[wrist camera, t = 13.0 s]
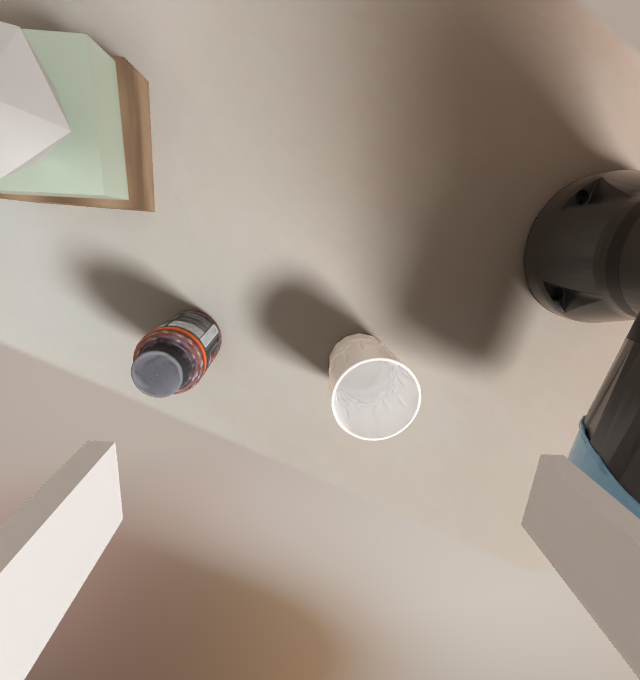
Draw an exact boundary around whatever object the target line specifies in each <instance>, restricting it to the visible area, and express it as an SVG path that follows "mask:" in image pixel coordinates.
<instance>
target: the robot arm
mask: <svg viewBox="0 0 640 680" xmlns="http://www.w3.org/2000/svg"><path fill="white" fill-rule="evenodd" d="M524 267H525V274H526V279H527V282H528V285H529V288H530V290H531V292H532V293H533V295H534V297H535V298H536V299H537V300H538V302H539V303H540V304H541V305H542V306H544V307H545V308H546V309H547V310H549V311H551V312H552V313H554V314H557V315H559V316H562V317H565V318H569V319H572V320H575V321H580V322H588V323H599V322H612V321H624V320H635V321H634V323H633V325H632V327H631V329H630V331H629V333H628V335H627V337H626V339H625V341H624V343H623V345H622V347H621V349H620V351H619V353H618V355H617V356H616V358H615V360H614V362H613V364H612V366H611V368H610V370H609V372H608V374H607V376H606V378H605V380H604V382H603V384H602V386H601V388H600V390H599V392H598V394H597V396H596V398H595V400H594V401H593V403H592V405H591V407H590V409H589V411H588V413H587V415H586V416H583V417H582V419H581V420H580V423H579V429H580V430H579V432H578V434H577V437H576V439H575V441H574V444H573V446H572V448H571V451H570V453H569V457H568V459H567V458H566V457H565V456H564V455H540V459H539V463H538V466H537V470H536V473H535V477H534V481H533V484H532V488H531V491H530V495H529V498H528V502H527V506H526V509H525V513H524V516H523V520H522V524H521V525H522V526H523V528H524V529H525V530H526V532H527V533H528V534H529V535H530V537H531V538H532V539H533V541H534V542H535V543H536V545H537V546H538V547H539V549H540V550H541V551H542V552H543V554H544V555H545V556H546V558H547V559H548V560H549V562H550V563H551V564H552V566H553V567H554V568H555V569H556V571H557V572H558V573H559V575H560V576H561V577H562V578H563V580H564V581H565V583H566V584H567V585H568V586H569V588H570V589H571V590H572V592H573V593H574V594H575V595H576V597H577V598H578V600H579V601H580V602H581V603H582V605H583V606H584V607H585V609H586V610H587V611H588V613H589V614H590V615H591V616H592V618H593V619H594V620H595V622H596V623H597V624H598V626H599V627H600V628H601V629H602V631H603V632H604V633H605V635H606V636H607V637H608V639H609V640H610V641H611V643H612V644H613V645H614V647H615V648H616V649H617V651H618V652H619V653H620V654H621V656H622V657H623V658H624V660H625V661H626V662H627V664H628V665H629V666H630V668H631V669H632V670H633V671H634V673H635V674H636V675H637V677H638V678H639V679H640V171H637V170H615V171H609V172H604V173H599V174H594V175H590V176H587V177H584V178H582V179H579V180H577V181H575V182H573V183H571V184H570V185H568V186H567V187H565V188H564V189H562V190H561V191H560V192H559V193H557V194H556V195H555V196H554V197H553V198H552V199H551V200H550V201H549V202H548V203H547V205H546V206H545V207H544V208H543V210H542V211H541V212H540V214H539V216H538V217H537V219H536V221H535V222H534V224H533V227H532V229H531V231H530V234H529V237H528V240H527V244H526V249H525V257H524ZM122 519H123V515H122V504H121V494H120V484H119V474H118V464H117V454H116V444H115V442H104V441H87V442H86V444H85V445H84V446H83V447H81V448H80V449H79V450H78V451H77V453H75V454H74V455H73V456H72V457H71V458H70V459H69V460H68V461H67V462H66V463H65V464H64V465H63V466H62V467H61V468H60V469H59V470H58V471H57V472H56V473H55V474H54V475H53V476H52V477H51V478H50V479H49V480H48V481H47V482H46V483H45V484H44V485H43V486H42V487H41V488H40V489H39V490H38V491H37V492H36V493H35V494H34V495H33V496H32V497H31V498H30V499H29V500H28V501H27V502H26V503H25V504H24V505H23V506H22V507H21V508H20V509H19V510H18V511H17V512H16V513H15V514H14V515H13V516H12V517H11V518H10V519H9V520H8V521H7V522H6V523H5V524H4V525H3V526H2V527H1V528H0V680H24V679H25V678H26V676H27V674H28V673H29V671H30V669H31V668H32V666H33V665H34V663H35V661H36V660H37V658H38V656H39V655H40V653H41V652H42V650H43V648H44V647H45V645H46V643H47V641H48V640H49V639H50V637H51V635H52V634H53V632H54V630H55V629H56V627H57V625H58V624H59V622H60V621H61V619H62V617H63V616H64V614H65V612H66V611H67V609H68V607H69V606H70V604H71V603H72V601H73V599H74V598H75V596H76V595H77V593H78V591H79V590H80V588H81V586H82V584H83V583H84V581H85V580H86V578H87V577H88V575H89V573H90V572H91V570H92V568H93V567H94V565H95V564H96V562H97V560H98V559H99V557H100V555H101V554H102V552H103V551H104V549H105V547H106V545H107V544H108V542H109V541H110V539H111V537H112V536H113V534H114V532H115V531H116V529H117V528H118V526H119V524H120V523H121V521H122Z"/></svg>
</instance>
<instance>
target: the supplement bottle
mask: <svg viewBox="0 0 640 680" xmlns="http://www.w3.org/2000/svg"><path fill="white" fill-rule="evenodd" d="M221 337H222V336H221V332H220V329H219V327H218V325H217V324H216V322H215V321H214V320H213V319H212V318H211V317H209V316H208V315H206V314H204V313H202V312H198V311H185V312H182V313H179V314H177V315H175V316H173V317H172V318H171V319H169V320H168V321H166V322H164V323H163V324H161V325H160V326H158V327H157V328H156V329H154V330H153V331H151V332H150V333H148V334H147V335H145V336H144V337H143V338H142V339H141V341H140V342H139V343H138V345H137V346H136V349H135V351H134V356H133V364H132V368H131V376H132V379H133V382H134V384H135V385H136V387H137V388H138V389H139V390H140V391H142V392H143V393H145V394H146V395H149V396H152V397H158V398H162V397H167V396H170V395H172V394H179V393H183V392H185V391H188V390H189V389H191V388H192V387H194V386H195V385H196V384H197V383H198V382H199V380H200V379H201V377H202V376H203V375H204V373H205V372H206V370H207V368H208V367H209V365H210V364H211V362H212V361H213V359H214V358H215V356H216V355H217V354H218V351H219V349H220V346H221Z"/></svg>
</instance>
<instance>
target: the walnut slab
mask: <svg viewBox="0 0 640 680" xmlns="http://www.w3.org/2000/svg"><path fill="white" fill-rule="evenodd" d="M110 57H111V58H112V59H114V60H115V63H116V73H117V83H118V93H119V104H120V114H121V124H122V134H123V144H124V154H125V164H126V175H127V185H128V195H129V200H115V199H96V198H76V197H56V196H36V195H16V194H1V193H0V198H2V199H11V200H20V201H28V202H37V203H49V204H62V205H74V206H86V207H99V208H111V209H123V210H136V211H148V212H155V204H154V184H153V164H152V143H151V123H150V103H149V82H148V81H147V80H146V79H145V78H144V77H143V76H142V75H141V74H140V73H139V72H138V71H137V70H136V69H135V68H134V67H133V66H132V65H131V64H130V63H129V62H128V61H127V60H126V59H125V58H124V57H118V56H110Z"/></svg>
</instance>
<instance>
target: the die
mask: <svg viewBox="0 0 640 680" xmlns="http://www.w3.org/2000/svg"><path fill="white" fill-rule="evenodd" d="M70 132H71V129H70V126H69V124H68V121H67V118H66V116H65V113H64V111H63V108H62V106H61V103H60V100H59V98H58V95H57V93H56V90H55V87H54V85H53V83H52V81H51V79H50V78H49V76H48V74H47V73H46V71H45V69H44V67H43V66H42V64H41V62H40V61H39V59H38V57H37V55H36V54H35V52H34V50H33V49H32V47H31V45H30V43H29V42H28V40H27V38H26V37H25V35H24V33H23V31H22V30H21V28H20V27H19V26H16V25H13V24H9V23H6V22H3V21H0V178H3V177H6V176H8V175H10V174H12V173H15V172H17V171H19V170H22V169H24V168H26V167H28V166H31V165H33V164H35V163H38V162H40V161H42V160H43V159H44V158H45V157H46V156H47V155H48V154H49V153H50V152H51V151H52V150H53V149H54V148H55V147H56V146H57V145H58V144H59V143H60V142H61V141H62V140H63V139H64V138H65V137H66V136H67V135H68V134H69V133H70Z"/></svg>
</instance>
